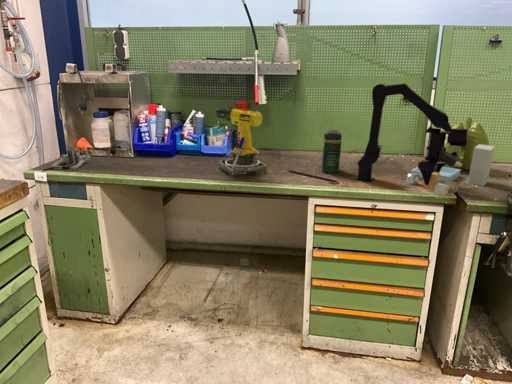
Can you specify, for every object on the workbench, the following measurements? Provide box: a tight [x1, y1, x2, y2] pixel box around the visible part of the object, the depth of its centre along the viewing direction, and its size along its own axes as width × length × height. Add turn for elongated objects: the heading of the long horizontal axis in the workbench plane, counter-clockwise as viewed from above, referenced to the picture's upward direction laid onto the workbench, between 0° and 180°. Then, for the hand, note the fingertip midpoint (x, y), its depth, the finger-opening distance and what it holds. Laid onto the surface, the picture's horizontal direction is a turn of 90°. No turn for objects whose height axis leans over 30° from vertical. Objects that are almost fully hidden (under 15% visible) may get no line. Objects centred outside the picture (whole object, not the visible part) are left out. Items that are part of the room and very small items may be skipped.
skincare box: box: [467, 144, 496, 187], centre depth 174 cm, size 8×7×16 cm
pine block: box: [443, 181, 459, 194], centre depth 165 cm, size 4×4×4 cm
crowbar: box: [287, 168, 339, 185], centre depth 181 cm, size 28×1×5 cm
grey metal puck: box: [406, 172, 420, 186], centre depth 174 cm, size 4×4×4 cm
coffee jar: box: [321, 129, 343, 174], centre depth 189 cm, size 10×8×19 cm
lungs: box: [443, 116, 490, 171], centre depth 195 cm, size 25×16×24 cm, turn 81°
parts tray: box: [410, 166, 462, 184], centre depth 185 cm, size 16×16×3 cm
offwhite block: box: [433, 182, 449, 197], centre depth 161 cm, size 4×4×4 cm
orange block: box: [422, 172, 440, 190], centre depth 169 cm, size 4×4×6 cm
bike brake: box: [41, 147, 91, 173], centre depth 192 cm, size 14×7×20 cm
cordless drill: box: [213, 106, 268, 177], centre depth 188 cm, size 18×19×28 cm
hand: (430, 182), depth 169 cm, fingers open, 9 cm apart
